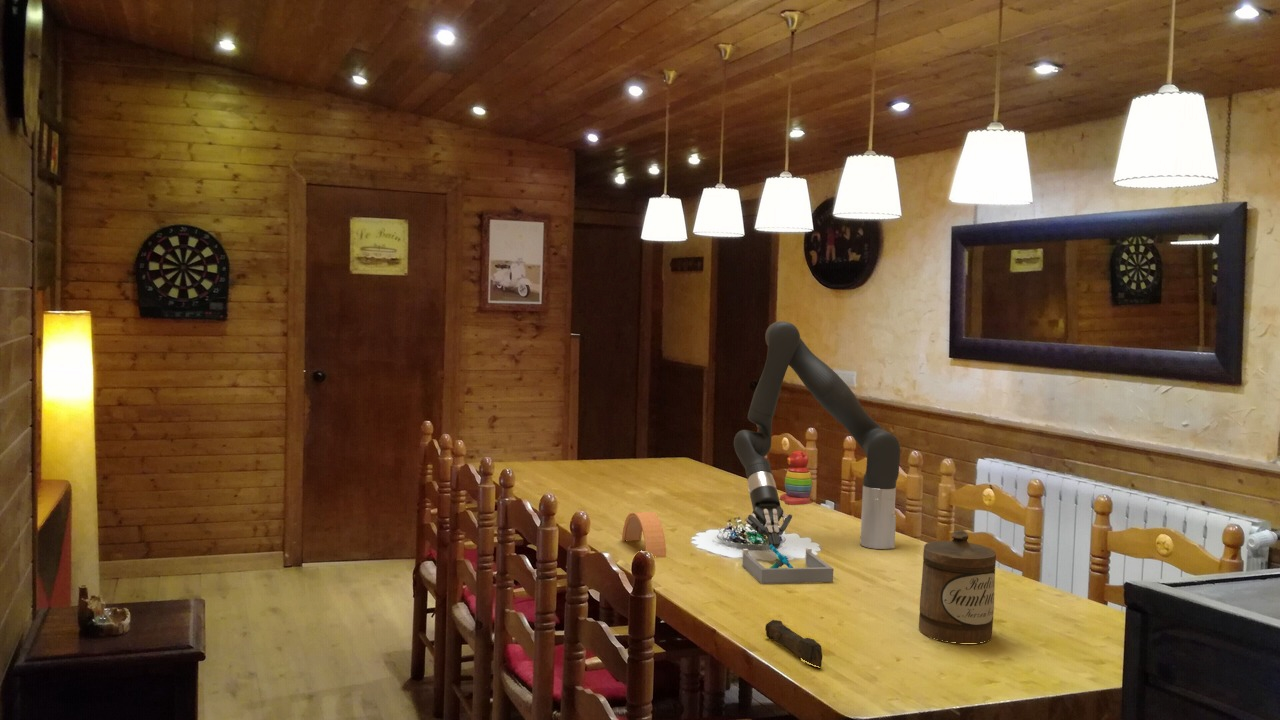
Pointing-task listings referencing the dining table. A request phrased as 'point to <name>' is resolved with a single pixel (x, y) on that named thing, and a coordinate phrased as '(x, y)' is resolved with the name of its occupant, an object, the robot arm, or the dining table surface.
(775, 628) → the dark brown rough bar
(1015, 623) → the dining table surface
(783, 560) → the teal crossed bars
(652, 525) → the arch
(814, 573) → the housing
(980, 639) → the wooden container
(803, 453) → the stacking bear
